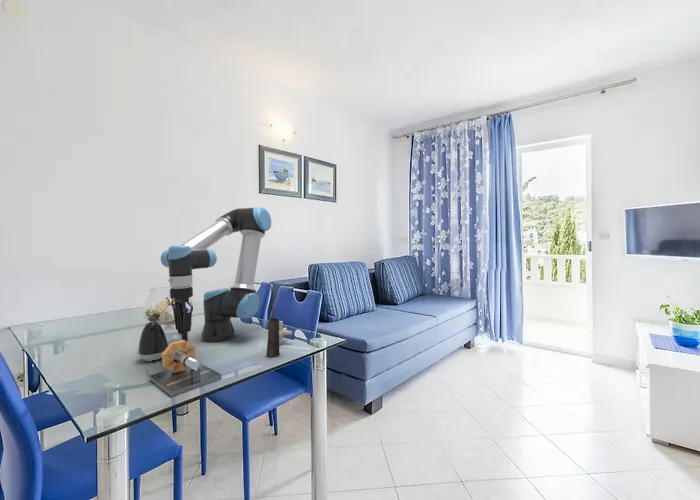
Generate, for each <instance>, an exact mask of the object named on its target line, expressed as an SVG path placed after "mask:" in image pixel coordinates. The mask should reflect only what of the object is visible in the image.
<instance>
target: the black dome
mask: <svg viewBox="0 0 700 500" xmlns="http://www.w3.org/2000/svg"><path fill="white" fill-rule="evenodd" d="M168 343H169V342H168V338H167V336H166V333H165V331H164V328H163V327H162V325H161V324H160V323H159V322H158V321H154V320H153V321H148V323H146V324H145V325H144V327H143V329H142V330H141V334H140V338H139V342H138V349H137V350H138V351H137V352H138V354H139V357H140V358H141V360H143V361H144V362H153V361H152V360H156V359H159V360H161V359H162V353H163V352H164V351H165V349H166V348H167V347H168V346H169V344H168ZM160 358H161V359H160ZM156 361H157V360H156Z"/></svg>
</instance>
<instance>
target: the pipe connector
mask: <svg viewBox="0 0 700 500" xmlns="http://www.w3.org/2000/svg"><path fill="white" fill-rule="evenodd" d="M284 335H286V336H287V335H288V336H292V335H293V331H292V330H288V328H287V327H284V323H283V321H282V320H279V343H280V344H279V345H284Z"/></svg>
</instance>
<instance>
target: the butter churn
mask: <svg viewBox="0 0 700 500" xmlns="http://www.w3.org/2000/svg"><path fill="white" fill-rule="evenodd" d="M270 293H271V304H272V305H271V307H272V308H271V309H272V318H269V320H268V329H267V330H268V332H267V343H266V346H267V347H266V356H267V358H275V357H278V356H279V355H280V345H281V344H280V343H279V321H280V319H279V318H277V317H275V312H274V311H275V309H274V296H273V294H274V292H273V286H272V285H271V286H270Z"/></svg>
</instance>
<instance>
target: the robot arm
mask: <svg viewBox="0 0 700 500" xmlns="http://www.w3.org/2000/svg"><path fill="white" fill-rule="evenodd" d="M271 228H272V218H271V215H270V213H269V211H268V210H267V209H266V208H264V207H257V206H255V207H245V208H244V207H243V208H234V209H233V210H230V211H228V212H226V213H225V214H223V215H222V216H219V217H217V219H216V220H215V223H213V224H211V225H210V226H208V227H206V228H205V229H203V230H202V231H200V232H199V233H197V234H196V235H194V236H193V237H191V238H189V239H188V240H187V241H185V242H183V243H181V244H180V245H170V246H169V247H168V249H166V250H164V251H163V252H162V253H161V255H160V263H161V264H162V266H163V267H166V268H168V274H169V275H168V277H169V278H168V280H167V282H168V283H169V287H170V289H169V298H170V299H171V300H174V303H172V304H171V308H172V311H173V319H174V320H173V321H174V327H175V331H177V333H178V341H181V340H185V341H186V342H188V343H189V332H192V331H191V330H192V317H193V311H194V308H193V306H191V305H190V301H189V300H190V298H192V297H193V296H194V291H193V289H194V288H193V287H192V286H193V284H194V283H193V270H199V269H208V268H212V267H214V266H215V265H216V263H217V261H218V256H217V254H216V252H215V251H214V250H213V249H208V248H210V247H211V246H212V245H214V244H216V243H217V242H218V241H219V240H221V239H222V238H224V237H225V236H230V235H231V234H233V233H238V232H240V234H241V235H242V237H241V238H242V240H241V244H240V245H241V246H240V250H239V256H238V262H237V268H236V275H235V279H234V284H232V286H230V288H228V287H227V288H220V289H213V290H209V291H206V292H204V294H203V301H202V302H203V312H204V313H203V314H204V316H203V317H204V325H203V328H202V332H201V334H200V338H201V339H200V340H201V341H203V342H205V343H218V342H224V341H227V340H230V339H233V338H235V336H236V330H235V328H234V325H233V323H232V320H231V318H235V319H250V318H252V317H254V316H255V314H256V313H257V312H258V309H259V306H260V299H259V298H260V297H259V295H258V294H257V292H256V291H257V290H256V288H255V286H254V285H255V279H256V273H257V272H256V271H257V265H258V260H259V259H258V258H259V252H260V245H261V240H262V238H264V237H265V234H266V232H267V231H270V230H271ZM179 351H181V352H183V351H184V350H179Z"/></svg>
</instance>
